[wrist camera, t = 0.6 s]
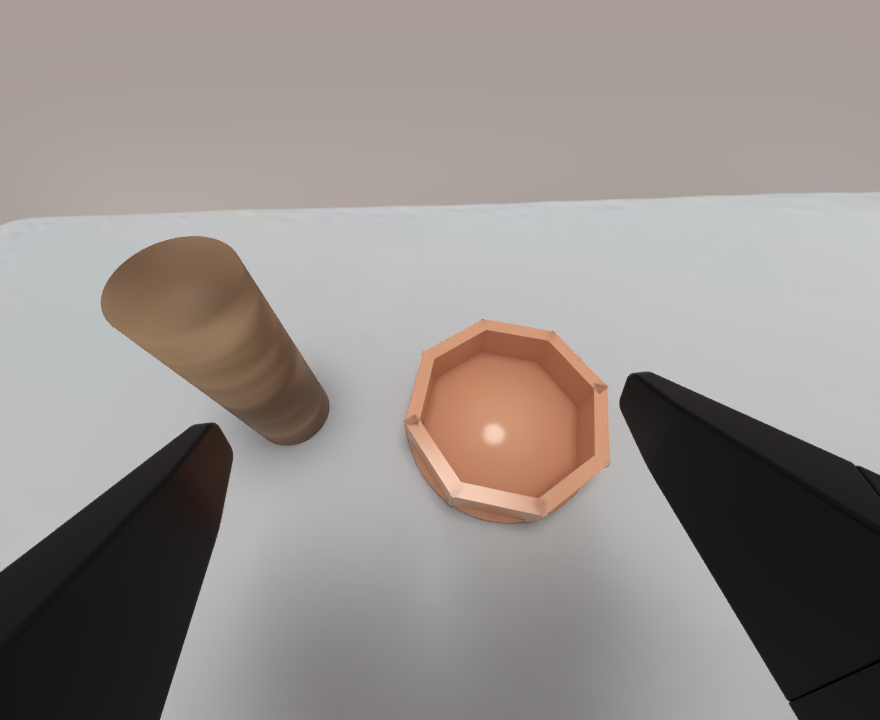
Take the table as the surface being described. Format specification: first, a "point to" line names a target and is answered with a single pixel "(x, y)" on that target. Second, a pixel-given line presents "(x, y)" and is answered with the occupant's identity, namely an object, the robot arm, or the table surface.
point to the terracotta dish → (507, 422)
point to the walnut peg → (217, 334)
